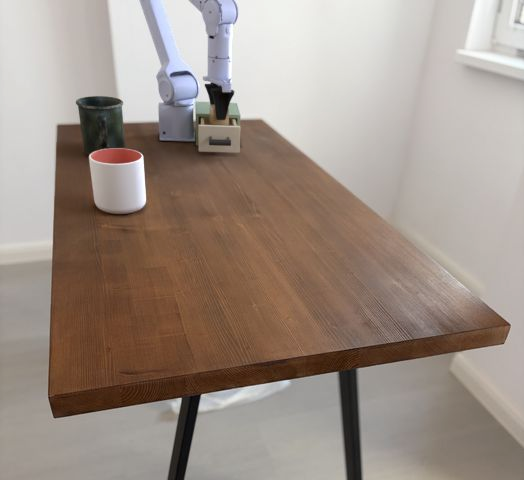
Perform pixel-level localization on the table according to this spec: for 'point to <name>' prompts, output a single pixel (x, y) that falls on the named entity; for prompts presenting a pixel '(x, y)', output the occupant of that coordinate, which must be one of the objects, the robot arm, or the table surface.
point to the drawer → (218, 136)
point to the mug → (101, 123)
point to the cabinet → (204, 111)
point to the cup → (118, 180)
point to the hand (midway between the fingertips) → (218, 117)
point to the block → (214, 119)
